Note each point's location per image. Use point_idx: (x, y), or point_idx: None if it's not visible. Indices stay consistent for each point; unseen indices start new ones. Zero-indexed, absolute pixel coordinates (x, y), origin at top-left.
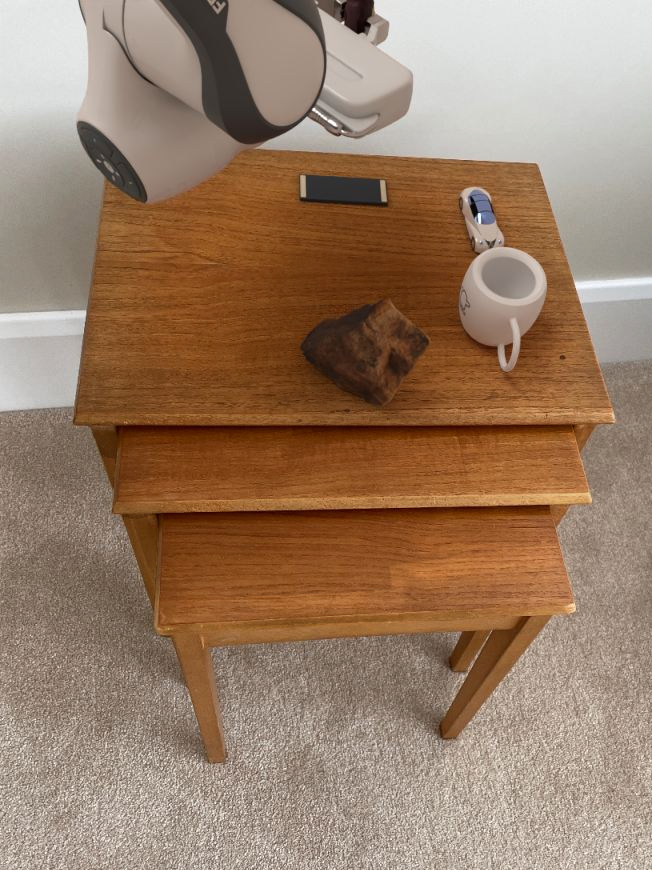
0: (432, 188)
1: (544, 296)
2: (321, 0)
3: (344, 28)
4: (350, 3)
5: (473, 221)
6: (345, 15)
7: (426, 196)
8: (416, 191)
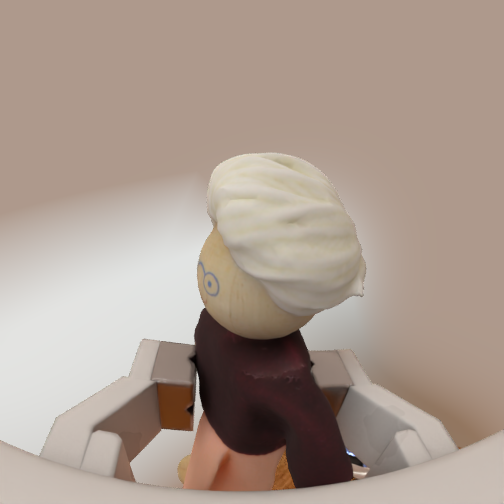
0: (280, 469)
1: None
2: (116, 412)
3: (419, 487)
4: (265, 372)
5: (363, 469)
6: (247, 418)
7: (286, 482)
8: (273, 485)
